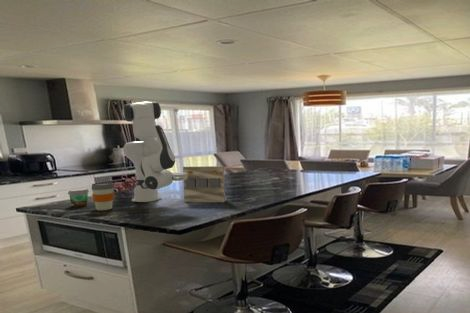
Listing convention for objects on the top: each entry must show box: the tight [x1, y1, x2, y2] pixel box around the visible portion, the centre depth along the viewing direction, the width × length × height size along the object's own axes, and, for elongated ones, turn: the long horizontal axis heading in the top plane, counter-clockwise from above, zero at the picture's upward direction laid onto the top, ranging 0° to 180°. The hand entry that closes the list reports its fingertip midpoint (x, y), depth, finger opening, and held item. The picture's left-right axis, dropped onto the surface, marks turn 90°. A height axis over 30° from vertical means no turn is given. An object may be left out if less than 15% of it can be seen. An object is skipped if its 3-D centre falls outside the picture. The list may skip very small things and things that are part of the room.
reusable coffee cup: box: [91, 181, 115, 211], centre depth 214 cm, size 13×12×15 cm
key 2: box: [210, 178, 221, 187], centre depth 223 cm, size 5×6×5 cm
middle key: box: [197, 178, 208, 187], centre depth 223 cm, size 5×6×5 cm
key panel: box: [182, 165, 227, 203], centre depth 226 cm, size 7×26×22 cm, turn 76°
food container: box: [67, 188, 90, 208], centre depth 225 cm, size 12×6×10 cm, turn 129°
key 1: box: [186, 178, 196, 187], centre depth 227 cm, size 5×6×5 cm
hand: (175, 174), depth 209 cm, fingers closed
